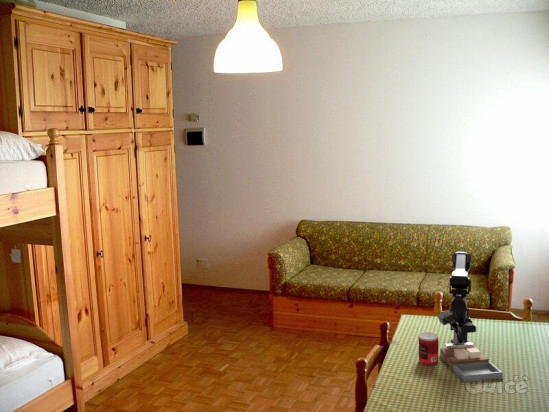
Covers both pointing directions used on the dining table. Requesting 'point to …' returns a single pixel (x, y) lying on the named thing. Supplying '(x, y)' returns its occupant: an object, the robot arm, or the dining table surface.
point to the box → (477, 371)
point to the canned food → (428, 348)
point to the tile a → (461, 354)
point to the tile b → (473, 353)
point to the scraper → (458, 344)
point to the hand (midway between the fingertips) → (459, 341)
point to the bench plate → (452, 360)
